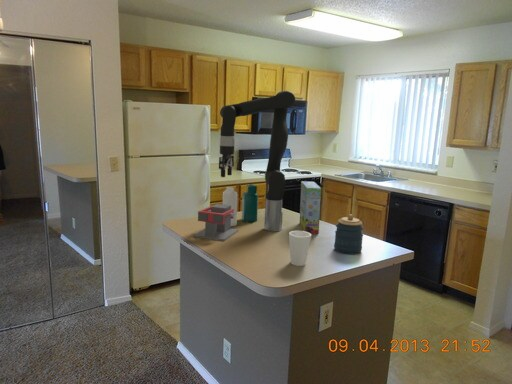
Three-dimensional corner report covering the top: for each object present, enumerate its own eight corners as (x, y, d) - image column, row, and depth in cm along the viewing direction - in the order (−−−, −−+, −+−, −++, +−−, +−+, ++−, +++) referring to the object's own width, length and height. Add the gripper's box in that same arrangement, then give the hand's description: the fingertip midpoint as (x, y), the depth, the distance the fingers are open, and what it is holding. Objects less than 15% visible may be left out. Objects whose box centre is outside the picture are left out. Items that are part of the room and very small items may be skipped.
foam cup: (294, 268, 157) (296, 238, 154) (283, 260, 165) (284, 231, 162) (313, 265, 161) (315, 235, 159) (301, 258, 169) (303, 229, 167)
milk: (228, 227, 214) (229, 188, 209) (221, 224, 218) (222, 186, 213) (236, 225, 218) (237, 187, 214) (229, 223, 222) (230, 185, 218)
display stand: (224, 241, 188) (224, 213, 186) (193, 236, 194) (193, 209, 191) (238, 231, 206) (239, 206, 203) (210, 227, 211) (210, 202, 209)
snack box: (297, 223, 228) (300, 180, 223) (312, 223, 228) (315, 181, 223) (303, 233, 206) (306, 187, 202) (319, 234, 207) (322, 187, 202)
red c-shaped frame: (222, 224, 188) (223, 214, 188) (197, 221, 193) (197, 211, 192) (233, 218, 202) (234, 208, 201) (209, 215, 206) (210, 206, 205)
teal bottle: (241, 218, 233) (242, 183, 229) (254, 218, 235) (256, 183, 231) (244, 222, 224) (245, 186, 220) (258, 222, 226) (260, 186, 222)
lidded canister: (328, 248, 183) (330, 213, 180) (345, 244, 191) (348, 210, 188) (349, 256, 173) (353, 219, 170) (367, 251, 181) (370, 215, 178)
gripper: (228, 146, 188) (227, 178, 191) (239, 144, 202) (238, 175, 205) (214, 145, 191) (213, 177, 194) (226, 144, 204) (225, 174, 207)
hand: (226, 176), depth 199 cm, fingers open, 8 cm apart
